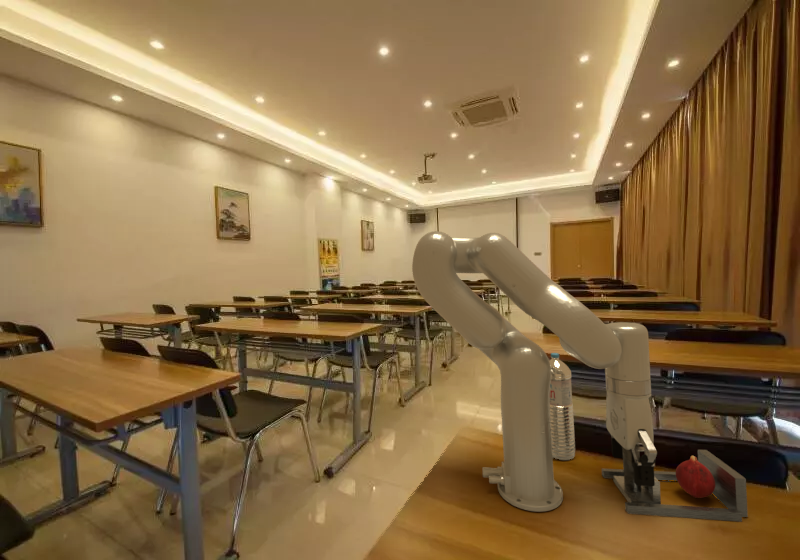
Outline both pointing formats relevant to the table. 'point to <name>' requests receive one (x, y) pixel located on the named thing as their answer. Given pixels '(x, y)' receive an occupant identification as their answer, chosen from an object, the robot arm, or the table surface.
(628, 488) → the carriage
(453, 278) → the robot arm
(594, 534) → the table surface
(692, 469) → the pomegranate
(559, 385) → the water bottle
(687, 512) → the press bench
